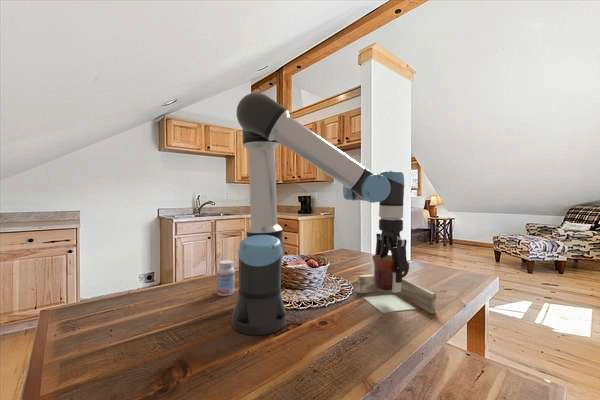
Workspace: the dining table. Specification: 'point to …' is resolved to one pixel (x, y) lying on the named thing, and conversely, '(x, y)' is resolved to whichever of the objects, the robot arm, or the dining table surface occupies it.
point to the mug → (384, 272)
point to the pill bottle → (225, 278)
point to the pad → (388, 303)
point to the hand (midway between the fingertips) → (389, 287)
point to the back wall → (418, 295)
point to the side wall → (366, 284)
